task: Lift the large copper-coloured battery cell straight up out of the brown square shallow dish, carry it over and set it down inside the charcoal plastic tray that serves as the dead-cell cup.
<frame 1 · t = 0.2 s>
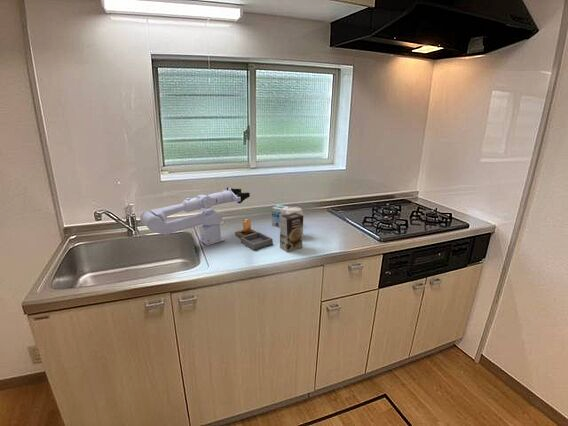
hand: (245, 192, 162), 21 cm above the worktop, tool horizontal, fingers open, 7 cm apart
cell: (246, 227, 161), in the brown square shallow dish
light bulb box: (282, 226, 177), on the worktop
tray: (256, 243, 153), on the worktop
coffee box: (291, 248, 149), on the worktop
supplement can: (294, 237, 162), on the worktop
brown square shallow dish: (247, 236, 162), on the worktop
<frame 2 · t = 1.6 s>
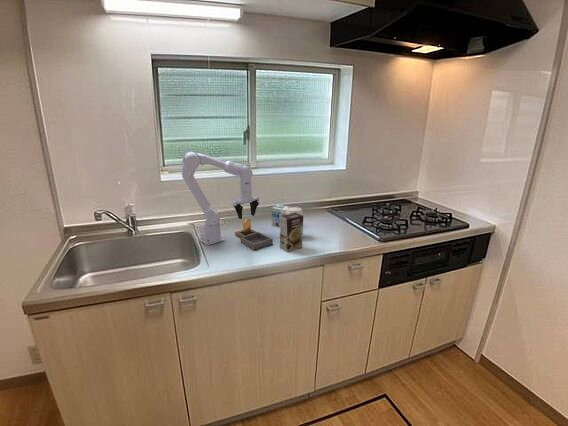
hand: (246, 216, 159), 10 cm above the worktop, tool pointing down, fingers open, 7 cm apart
nothing on the worktop moved.
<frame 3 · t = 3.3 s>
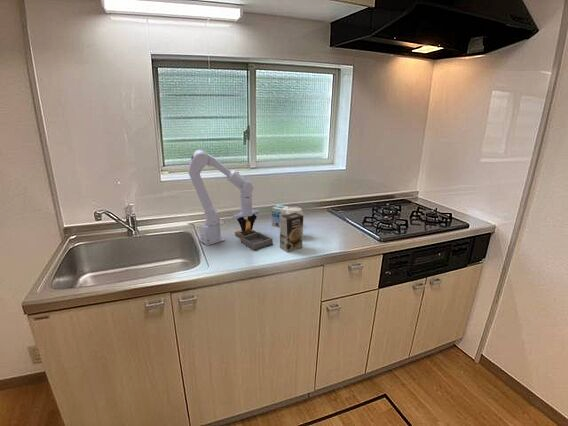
hand: (246, 229, 161), 3 cm above the worktop, tool pointing down, fingers closed on cell, 4 cm apart
cell: (246, 227, 161), in the brown square shallow dish, touching gripper
everything else where it was.
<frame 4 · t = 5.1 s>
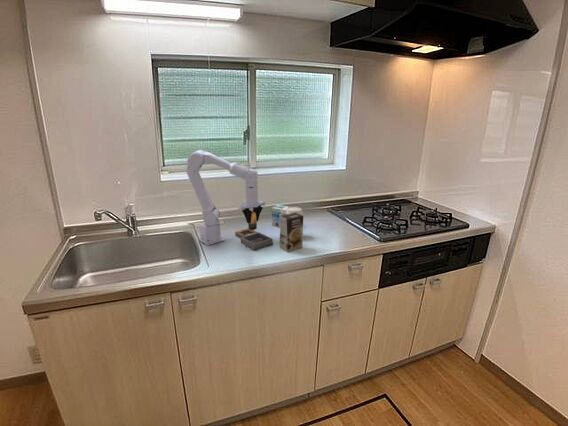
hand: (252, 221, 154), 10 cm above the worktop, tool pointing down, fingers closed on cell, 4 cm apart
cell: (252, 219, 153), point 11 cm above the worktop, touching gripper
everything else where it was.
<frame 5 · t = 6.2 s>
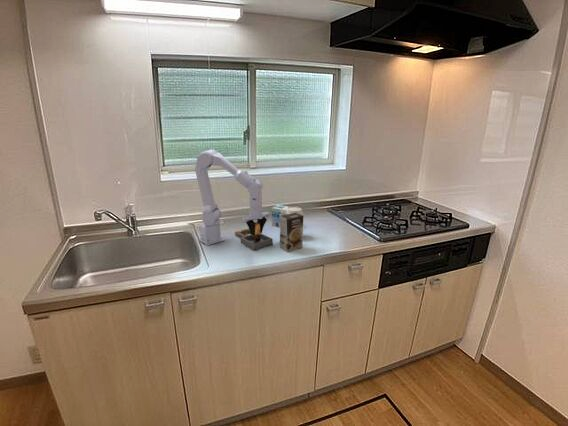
hand: (256, 233, 151), 5 cm above the worktop, tool pointing down, fingers closed on cell, 4 cm apart
cell: (256, 231, 151), point 7 cm above the worktop, touching gripper
everything else where it was.
when the fingers open (5 cm above the worktop, at t = 6.9 s): cell drops 1 cm, resting on tray.
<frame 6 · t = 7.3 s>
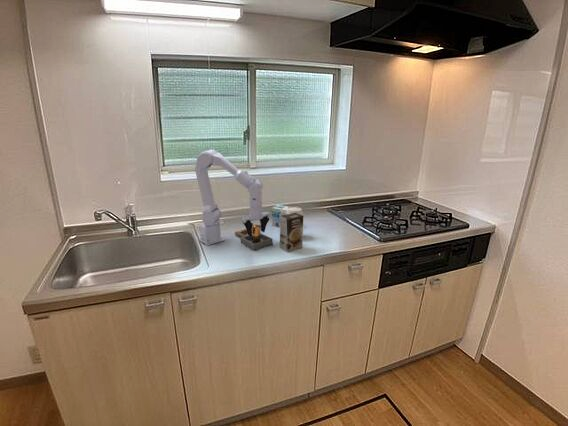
hand: (256, 233, 151), 5 cm above the worktop, tool pointing down, fingers open, 7 cm apart
cell: (256, 233, 152), in the tray, point 5 cm above the worktop
everything else where it was.
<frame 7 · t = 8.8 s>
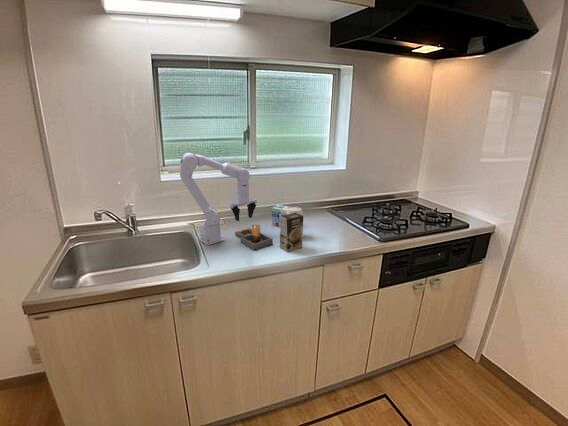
hand: (243, 219, 159), 9 cm above the worktop, tool pointing down, fingers open, 7 cm apart
nothing on the worktop moved.
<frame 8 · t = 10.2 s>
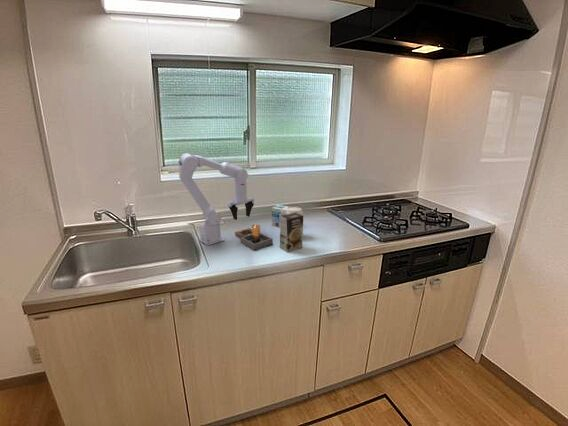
hand: (241, 217, 161), 9 cm above the worktop, tool pointing down, fingers open, 7 cm apart
nothing on the worktop moved.
at the end: cell inside the target area on the tray (0.1 cm from its centre), point 5.2 cm above the tray's base; the gripper is holding nothing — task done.
